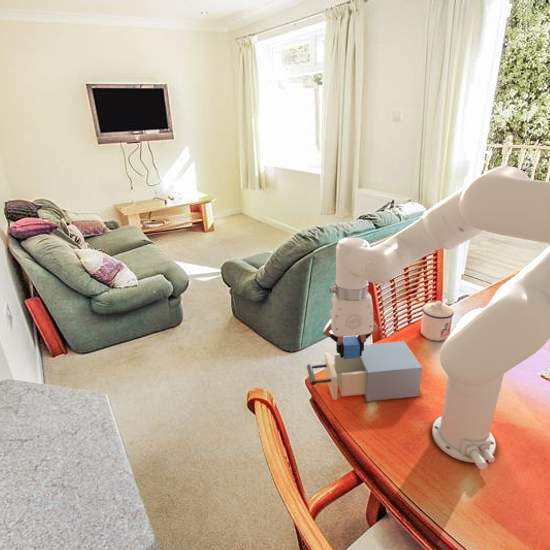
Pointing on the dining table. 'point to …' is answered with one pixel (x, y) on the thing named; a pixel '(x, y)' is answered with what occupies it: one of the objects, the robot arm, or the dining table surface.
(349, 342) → the blue wooden cube
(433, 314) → the teacup with lid
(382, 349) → the grey drawer cabinet
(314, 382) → the drawer
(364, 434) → the dining table surface
